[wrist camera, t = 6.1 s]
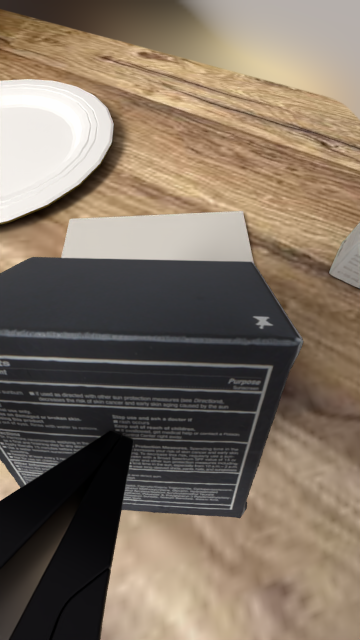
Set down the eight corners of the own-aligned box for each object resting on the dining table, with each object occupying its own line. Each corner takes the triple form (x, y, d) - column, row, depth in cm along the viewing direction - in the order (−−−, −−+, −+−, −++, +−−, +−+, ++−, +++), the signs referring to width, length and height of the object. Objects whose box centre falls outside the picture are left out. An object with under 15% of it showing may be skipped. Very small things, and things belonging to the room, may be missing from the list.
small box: (229, 404, 17) (258, 254, 11) (246, 522, 11) (322, 348, 5) (79, 396, 17) (29, 248, 11) (24, 507, 12) (-126, 329, 6)
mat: (274, 375, 17) (277, 374, 17) (38, 386, 17) (34, 385, 17) (241, 215, 24) (242, 211, 24) (71, 222, 24) (69, 218, 24)
